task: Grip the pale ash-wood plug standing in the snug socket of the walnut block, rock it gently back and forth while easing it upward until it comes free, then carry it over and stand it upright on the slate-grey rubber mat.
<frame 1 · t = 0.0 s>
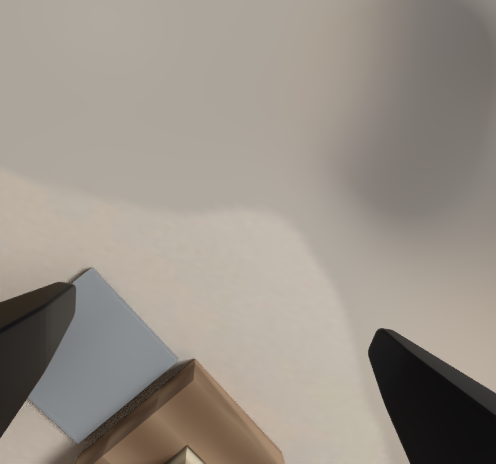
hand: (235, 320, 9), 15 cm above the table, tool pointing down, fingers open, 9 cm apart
mat: (86, 355, 23), on the table
socket block: (185, 452, 25), on the table
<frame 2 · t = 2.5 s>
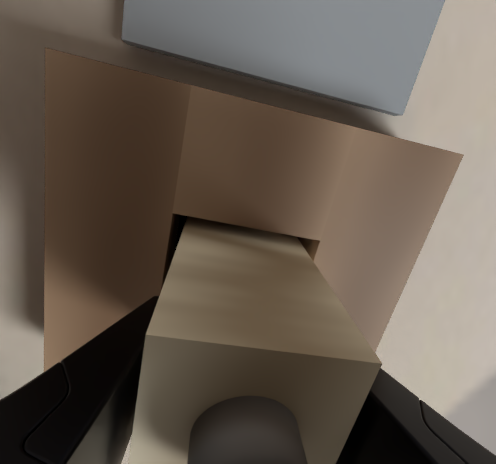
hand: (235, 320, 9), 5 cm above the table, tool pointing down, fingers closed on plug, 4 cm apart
plug: (235, 319, 9), in the socket block, touching gripper
socket block: (230, 256, 13), on the table
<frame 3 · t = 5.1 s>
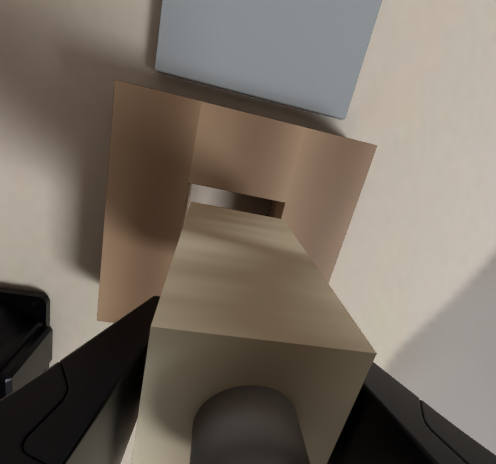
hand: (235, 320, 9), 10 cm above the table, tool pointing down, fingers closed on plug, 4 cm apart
plug: (234, 314, 9), point 10 cm above the table, touching gripper
socket block: (227, 220, 18), on the table
when the fingers open (6 cm above the table, at t = 8.0 s): plug drops 1 cm, resting on mat.
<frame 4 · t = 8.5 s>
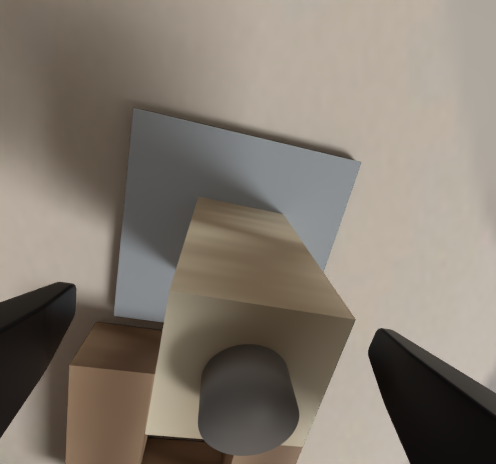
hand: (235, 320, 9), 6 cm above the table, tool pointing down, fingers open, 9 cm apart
mat: (230, 238, 15), on the table
plug: (237, 296, 10), on the mat, point 5 cm above the table
socket block: (191, 413, 19), on the table
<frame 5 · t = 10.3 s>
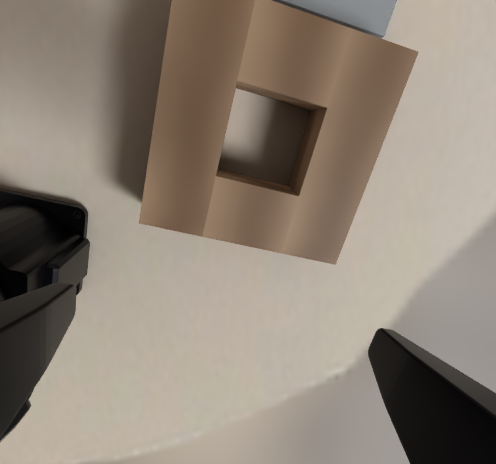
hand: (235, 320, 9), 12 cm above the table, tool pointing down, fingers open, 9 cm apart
socket block: (263, 139, 18), on the table
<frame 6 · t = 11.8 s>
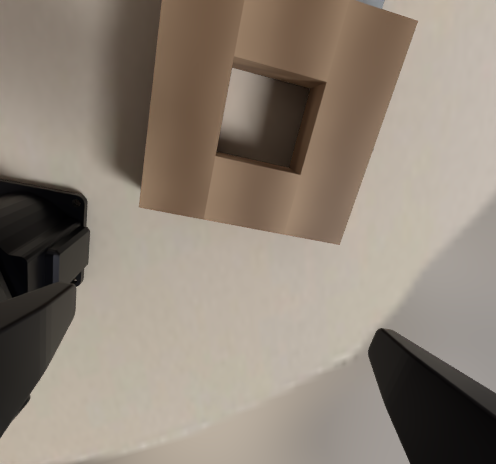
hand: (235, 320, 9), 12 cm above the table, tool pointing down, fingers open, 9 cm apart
socket block: (262, 120, 18), on the table
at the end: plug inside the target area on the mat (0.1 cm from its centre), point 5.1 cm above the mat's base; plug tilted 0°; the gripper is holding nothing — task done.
